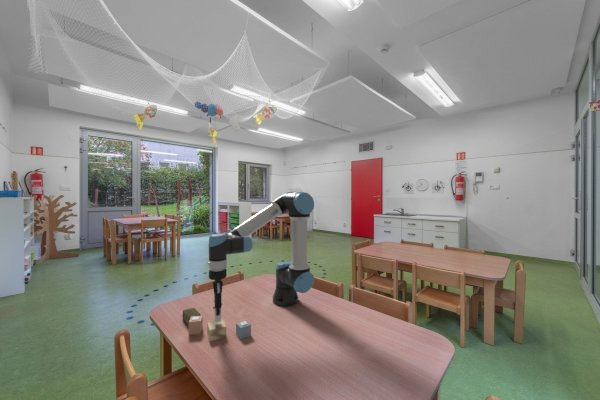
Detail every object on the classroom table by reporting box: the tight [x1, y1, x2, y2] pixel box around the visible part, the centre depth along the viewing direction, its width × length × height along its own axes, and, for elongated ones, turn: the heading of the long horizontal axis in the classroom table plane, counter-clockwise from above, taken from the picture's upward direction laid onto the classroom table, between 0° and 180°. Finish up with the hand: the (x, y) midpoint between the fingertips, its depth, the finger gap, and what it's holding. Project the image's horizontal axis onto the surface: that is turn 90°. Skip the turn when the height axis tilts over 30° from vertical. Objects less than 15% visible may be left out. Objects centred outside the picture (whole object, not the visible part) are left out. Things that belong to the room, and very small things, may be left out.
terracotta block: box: [188, 315, 204, 336], centre depth 116 cm, size 5×5×6 cm
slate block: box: [235, 319, 252, 340], centre depth 114 cm, size 5×5×5 cm
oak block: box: [206, 319, 227, 342], centre depth 113 cm, size 7×7×5 cm
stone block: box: [182, 307, 202, 327], centre depth 125 cm, size 6×12×5 cm, turn 42°
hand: (217, 321), depth 113 cm, fingers closed
